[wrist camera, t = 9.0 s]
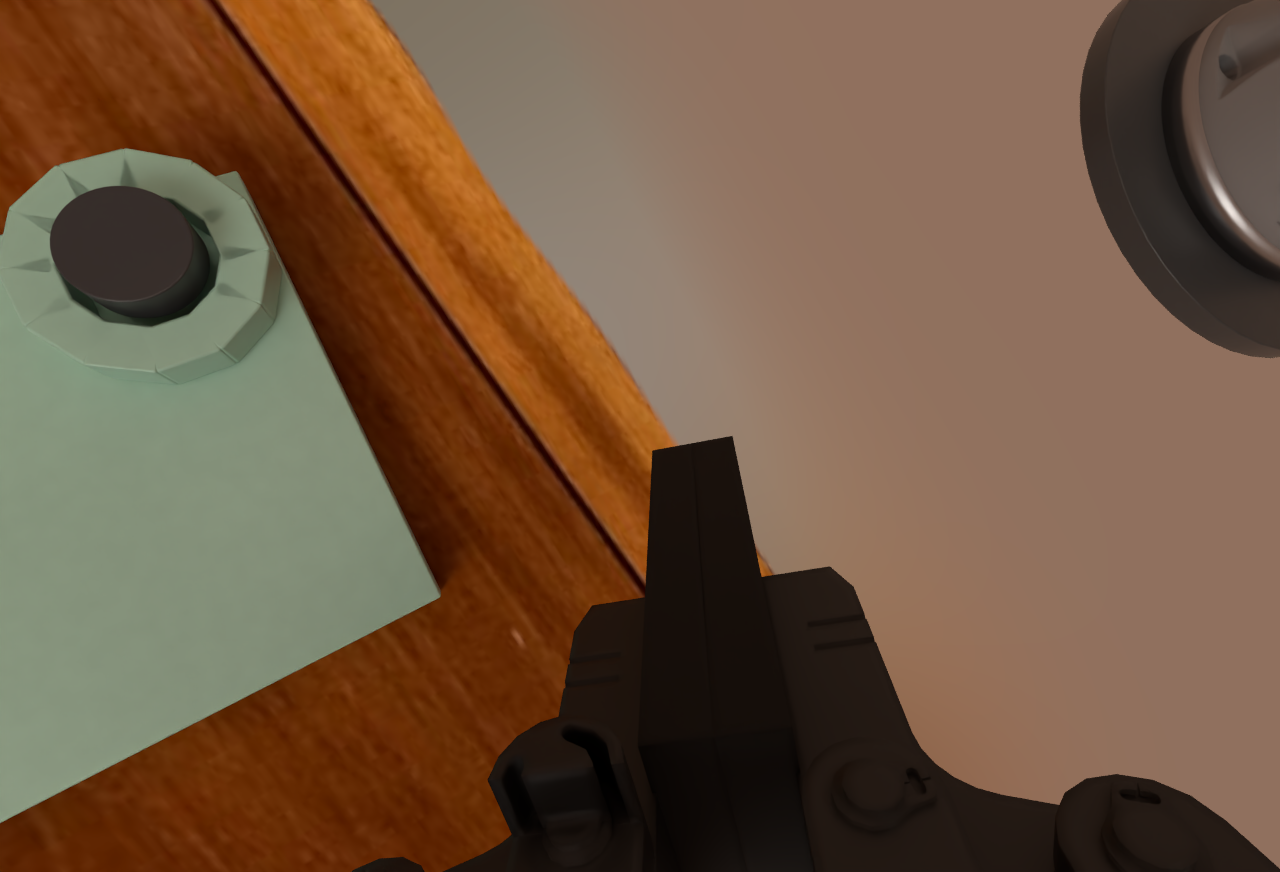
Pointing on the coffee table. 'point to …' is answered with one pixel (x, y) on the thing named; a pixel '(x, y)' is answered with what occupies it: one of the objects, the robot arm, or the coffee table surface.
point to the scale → (172, 491)
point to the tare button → (130, 251)
